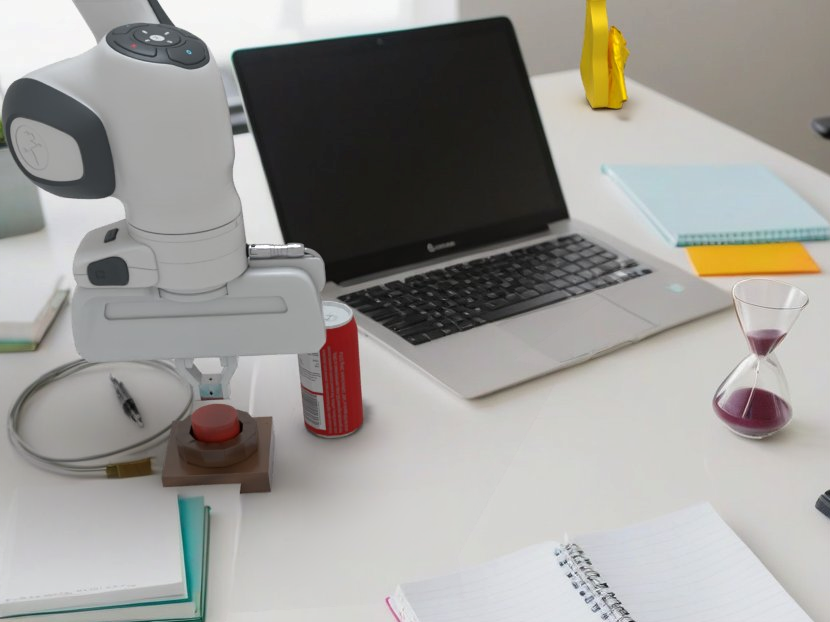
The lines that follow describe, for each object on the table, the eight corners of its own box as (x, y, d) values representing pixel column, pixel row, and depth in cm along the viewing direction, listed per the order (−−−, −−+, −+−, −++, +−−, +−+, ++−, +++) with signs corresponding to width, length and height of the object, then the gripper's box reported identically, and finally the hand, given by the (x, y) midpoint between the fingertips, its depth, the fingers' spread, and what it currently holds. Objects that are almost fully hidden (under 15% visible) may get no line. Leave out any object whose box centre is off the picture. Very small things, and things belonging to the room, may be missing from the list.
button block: (165, 498, 100) (157, 459, 97) (176, 440, 107) (169, 403, 104) (270, 492, 101) (266, 454, 98) (274, 436, 108) (270, 399, 105)
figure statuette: (636, 121, 182) (650, -30, 168) (587, 122, 181) (597, -30, 167) (613, 86, 196) (624, -56, 182) (568, 87, 195) (576, -56, 181)
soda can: (372, 415, 111) (365, 302, 104) (349, 445, 107) (340, 329, 100) (319, 404, 112) (309, 292, 105) (294, 434, 108) (282, 319, 101)
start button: (191, 445, 100) (188, 428, 99) (195, 421, 103) (193, 404, 102) (238, 443, 100) (236, 426, 99) (241, 419, 103) (239, 402, 102)
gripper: (322, 226, 95) (334, 373, 103) (65, 234, 92) (98, 383, 101) (322, 259, 90) (335, 410, 98) (50, 268, 87) (86, 422, 96)
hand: (213, 397), depth 99 cm, fingers closed
